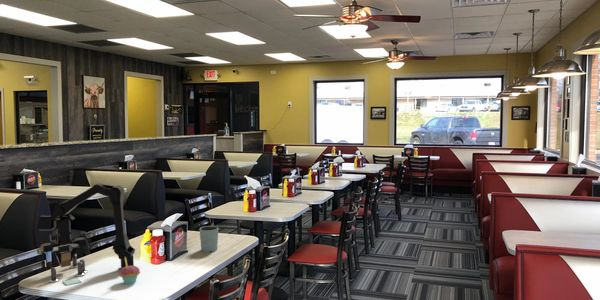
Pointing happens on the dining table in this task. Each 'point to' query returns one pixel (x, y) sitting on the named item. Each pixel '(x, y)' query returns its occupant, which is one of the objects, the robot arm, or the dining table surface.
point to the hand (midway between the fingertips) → (65, 262)
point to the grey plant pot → (209, 238)
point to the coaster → (71, 281)
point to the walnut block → (65, 259)
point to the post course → (78, 265)
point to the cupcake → (129, 273)
